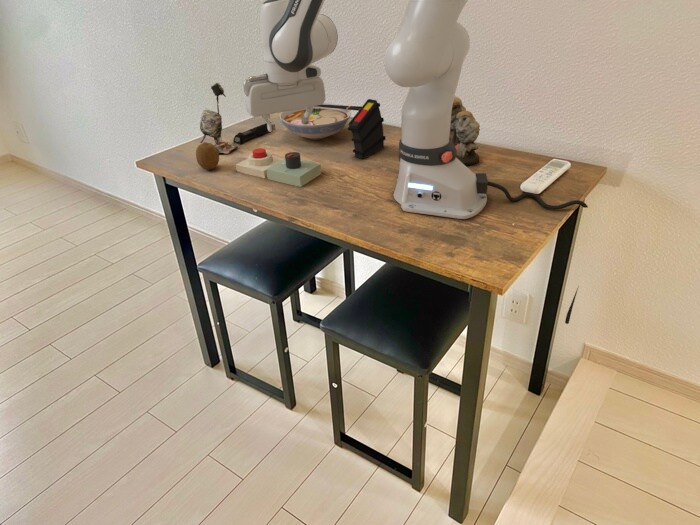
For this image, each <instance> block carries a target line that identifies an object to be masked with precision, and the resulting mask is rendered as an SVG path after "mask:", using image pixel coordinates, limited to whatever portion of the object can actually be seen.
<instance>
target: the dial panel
mask: <svg viewBox="0 0 700 525" xmlns="http://www.w3.org/2000/svg"><path fill="white" fill-rule="evenodd" d="M321 164H322V163H319V162H315V161H309V160H304V159H301V167H299V168H296V169H289V168H287V167H286V161H285V158H283V160H281V161H280V162H278V163H276V164H274V165H273V166H271V167H269V168H267V177H266V178H267V180H270V181H274V182H278V183H283V184H286V185H287V184H288V185H290V186H291V185H292V186H295V187H299V188H302V187H303V186H305V185H306V184H308V183H310V182H311V181H313V180H314V179H315V178H317V177H318V176H320V175H321V174H322V167H321V166H322V165H321Z"/></svg>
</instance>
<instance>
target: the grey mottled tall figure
mask: <svg viewBox="0 0 700 525" xmlns="http://www.w3.org/2000/svg"><path fill="white" fill-rule="evenodd" d="M210 89H211V90H212V92H213V95H214V96H215V97H216V104H217V105H216V107H217V111H213V110H211V109H207V107H205V108H204V110H203V111H202V113H201V116H200V122H199V130H200V132H201V133H202V139H200V141H199V142H200V143H199V144H203V143H204V141H205V139H206V137H207V136H208V137H209V138H213V140H214V143H215V144H213V145H214V146H215V147H216V149H217V151H218V154H222V153H223V154H230V153H231V152H232V151H233V150H236V149H238V146H236V145H235V146H233V145H231V144H229V142H228V141H221V139H222V131H223V121H222V115H221V114H220V108H219V96H224V97H225V98H226V97H227V96H226V95H225V89H224V87H222V85H221V84H220V83H219V82H215V84H212V85H211V86H210Z"/></svg>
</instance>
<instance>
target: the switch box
mask: <svg viewBox="0 0 700 525" xmlns="http://www.w3.org/2000/svg"><path fill="white" fill-rule="evenodd" d="M283 159H284V158H283V157H278V156H275V155H273V153H272V152H270V151H267V150H266V157H264V158H254V157H253V152H251V153H249V154H248V156H247V158H246V159H243V160H242V161H240V162H238V163H236V164H235V168H236V172H237V173H240V174H245V175H249V176H253V177H258V178H261V179H266V178H268V177H267V168H269V167H271V166H273V165H274V164H276V163H278V162H280V161H281V160H283Z"/></svg>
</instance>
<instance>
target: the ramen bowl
mask: <svg viewBox="0 0 700 525" xmlns="http://www.w3.org/2000/svg"><path fill="white" fill-rule="evenodd" d="M362 106H363V105H361V106H357V105H343V104H340V103H333V102H324V103H323V104H322V105H317V106H312V107H313V111H312V113H311V115H310V117H309V124H306V125H303V124H302V119H301V117H302V116H304V114H305V112H306V109H304V108H301V109H296V110H290V111H285V112H279V113H278V115H279V119H280V121H281V123H282V125H283V126H284V127H285V128H286V129H287V130H288V131H289V132H291V133H293V134H294V135H296V136H297V137H301V138H306V139H308V140H312V141H313V140H314V141H317V140H324V139H326V138H328V137H331V136H334V135H335V134H337V133H339V132H340V131H342V130H343V128H344V127H345V126H346V125H347V122H348V121H349V120H350V118H351V115H352V113H353V111H357V112H358V111H359V110H360V109H361V107H362Z"/></svg>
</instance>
